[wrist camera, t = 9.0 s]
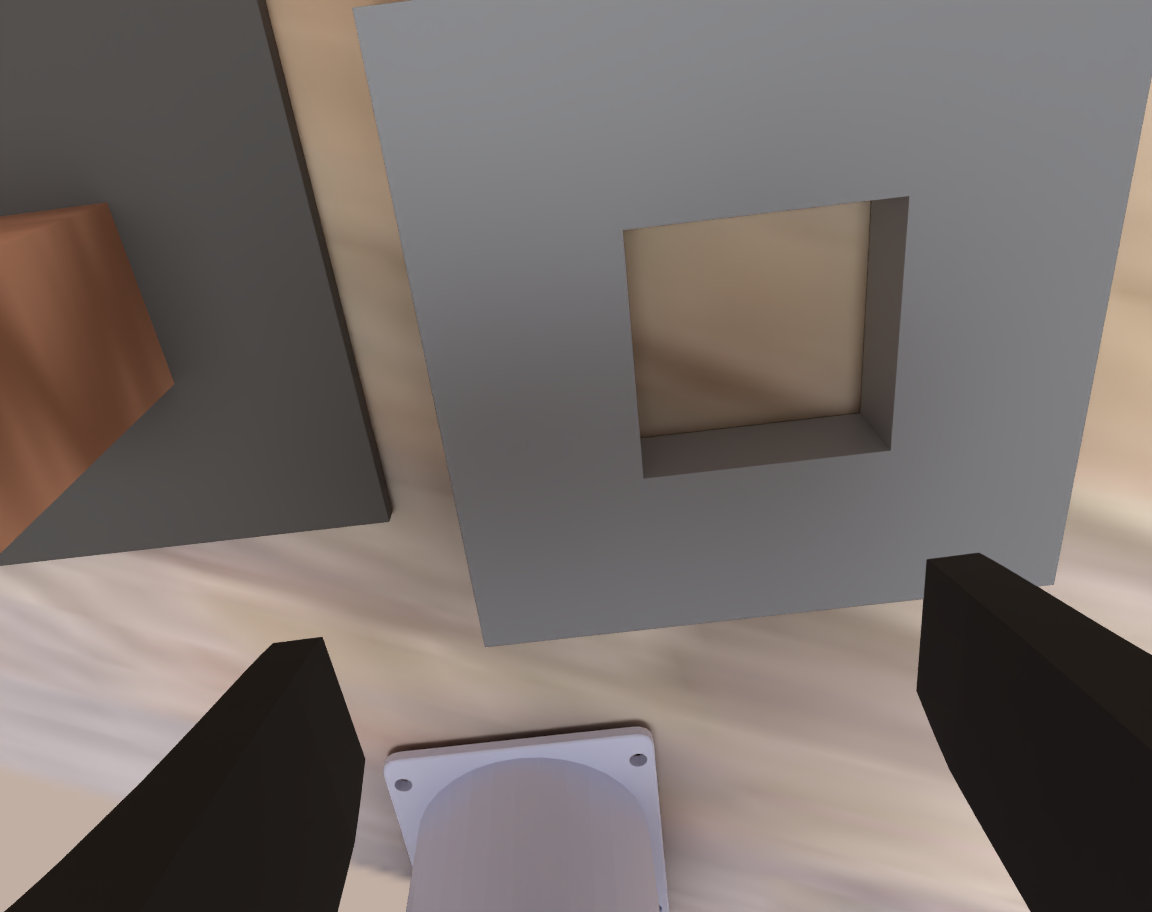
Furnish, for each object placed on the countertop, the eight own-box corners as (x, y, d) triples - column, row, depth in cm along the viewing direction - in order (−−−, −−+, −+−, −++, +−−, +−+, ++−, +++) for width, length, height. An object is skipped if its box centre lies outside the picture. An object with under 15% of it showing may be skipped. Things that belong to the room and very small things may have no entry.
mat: (392, 511, 21) (389, 521, 21) (-73, 564, 21) (-86, 575, 21) (255, -38, 15) (246, -40, 15) (-372, 42, 16) (-399, 42, 15)
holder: (1012, 539, 22) (1053, 584, 20) (490, 597, 22) (485, 647, 21) (1111, -84, 16) (1184, -97, 14) (373, 9, 16) (352, 8, 14)
